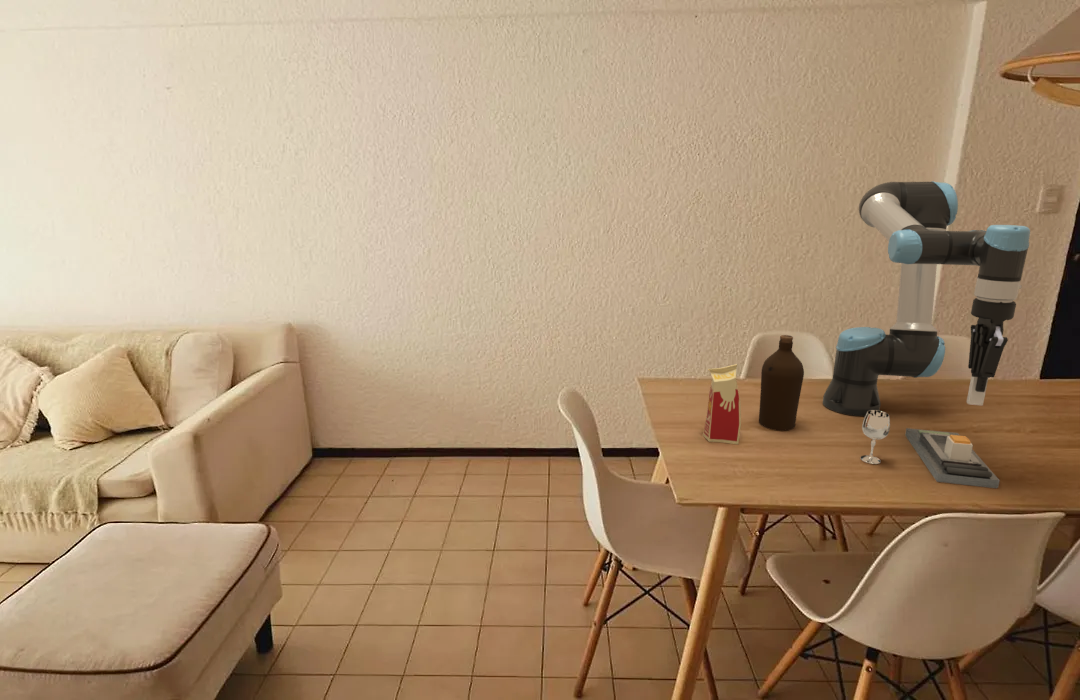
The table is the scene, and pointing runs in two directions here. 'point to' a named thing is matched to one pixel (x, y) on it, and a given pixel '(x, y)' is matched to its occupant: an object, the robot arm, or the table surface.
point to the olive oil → (780, 387)
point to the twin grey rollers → (967, 470)
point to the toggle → (958, 448)
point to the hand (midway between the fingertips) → (974, 403)
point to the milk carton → (723, 407)
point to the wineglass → (875, 431)
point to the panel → (933, 457)
